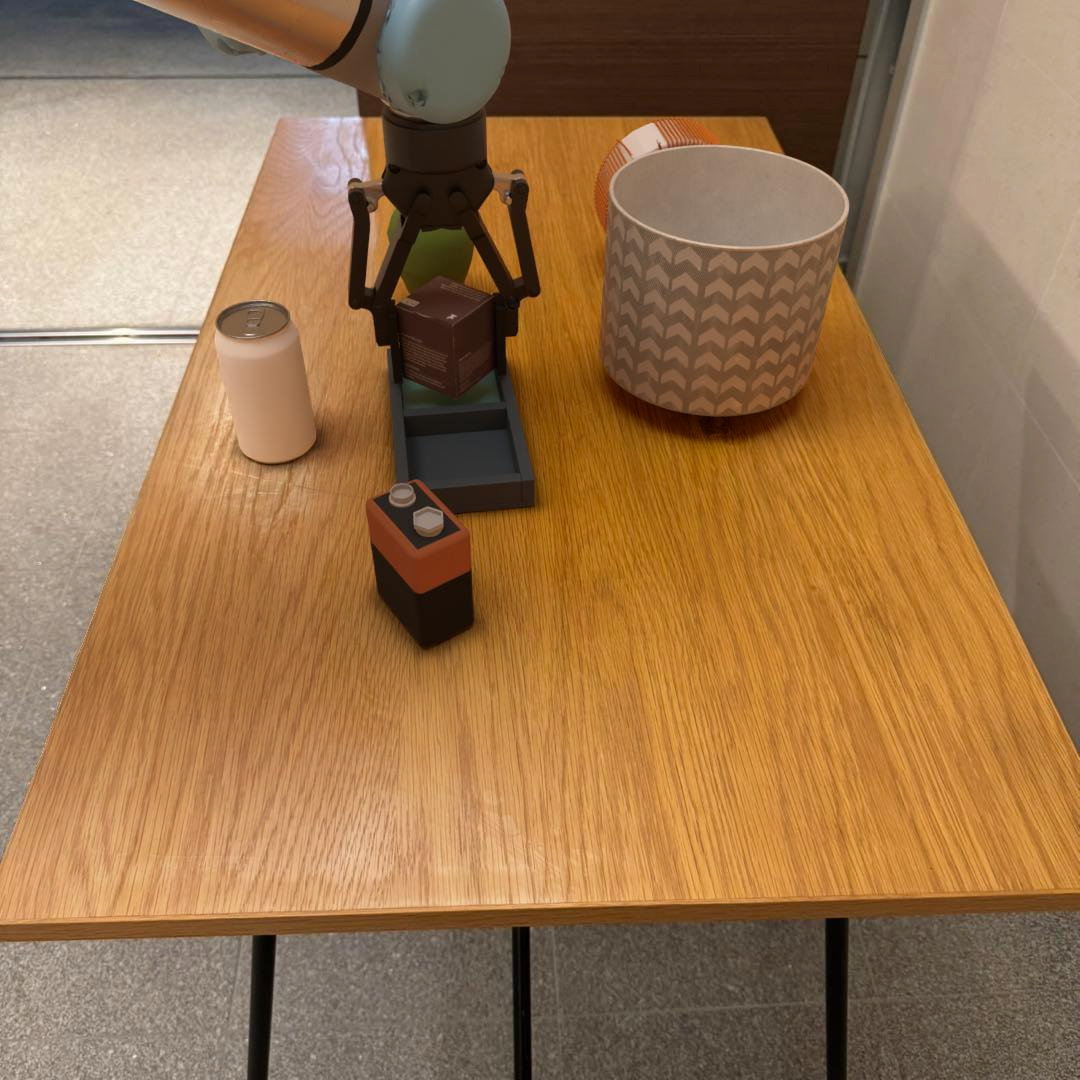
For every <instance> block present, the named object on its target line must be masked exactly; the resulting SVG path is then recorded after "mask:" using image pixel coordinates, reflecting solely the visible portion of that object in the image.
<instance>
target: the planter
mask: <svg viewBox="0 0 1080 1080" xmlns="http://www.w3.org/2000/svg"><path fill="white" fill-rule="evenodd" d="M849 212H850V200H849V197H848V194H847V193H846V191H845V189H844V188H843V187H842V186H841V184H840V183H839V182H838V181H836V179H835V178H833V177H832V176H831V175H829V174H828V173H826V172H825V171H824V170H821V169H820V168H818V167H816V166H814V165H812V164H811V163H810V164H809V163H808V162H805V161H804V160H803V161H802V160H800V159H798V158H794V157H792V156H788V155H786V154H783V153H782V154H781V153H778V152H774V151H770V150H765V149H760V148H754V147H748V146H739V145H729V144H722V145H691V146H681V147H673V148H667V149H663V150H658V151H654V152H651V153H648V154H645V155H642V156H640V157H637V158H635V159H633V160H631V161H630V162H628V163H626V164H625V165H623V166H622V167H621V168H620V169H619V170H618V171H617V172H616V173H615V174H614V175H613V177H612V179H611V182H610V185H609V197H608V213H607V230H606V233H605V247H604V248H605V249H604V263H603V277H602V278H603V280H602V295H601V310H600V311H601V313H600V327H599V342H598V352H599V358H600V361H601V365H602V366H603V368H604V370H605V371H606V373H607V374H608V376H609V377H610V378H611V379H612V380H613V381H614V382H615V383H616V385H618V386H619V387H621V388H622V389H623V390H625V391H626V392H628V393H629V394H631V395H632V396H634V397H636V398H638V399H640V400H642V401H645V402H646V403H649V404H651V405H654V406H656V407H659V408H661V409H666V410H669V411H673V412H677V413H681V414H688V415H692V416H693V415H695V416H702V417H703V416H704V417H737V416H745V415H751V414H756V413H760V412H764V411H767V410H770V409H773V408H775V407H778V406H780V405H783V404H784V403H786V402H787V401H790V400H791V399H792V398H793V397H795V396H797V394H798V393H800V392H801V391H802V389H803V388H804V387H805V386H806V384H807V382H808V380H809V379H810V376H811V373H812V369H813V365H814V360H815V356H816V352H817V349H818V345H819V340H820V335H821V331H822V327H823V322H824V318H825V314H826V311H827V306H828V302H829V297H830V293H831V289H832V284H833V280H834V277H835V272H836V268H837V263H838V259H839V255H840V252H841V248H842V242H843V239H844V234H845V230H846V225H847V222H848V217H849Z"/></svg>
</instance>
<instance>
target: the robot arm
mask: <svg viewBox="0 0 1080 1080" xmlns="http://www.w3.org/2000/svg"><path fill="white" fill-rule="evenodd" d="M133 1H134V2H137V3H139V4H142V5H145V6H147V7H150V8H152V9H155V10H157V11H160V12H162V13H165V14H168V15H170V16H173V17H175V18H178V19H181V20H183V21H186V22H188V23H190V24H192V25H193V24H194V25H196V26H197V28H198V29H199V31H200V33H201V34H202V36H203V37H204V39H205V40H206V41H207V42H208V44H209V45H210V46H211V47H212V48H213V49H214V50H216V51H217V52H218V53H220V54H222V55H224V56H227V57H238V56H239V57H241V56H247V55H255V54H257V55H259V56H260V57H262V56H264V55H265V56H266V55H267V54H270V55H273V56H275V57H278V58H281V59H283V60H285V61H288V62H290V63H294V64H295V65H298V66H300V67H303V68H305V69H307V70H309V71H311V72H313V73H316V74H317V75H321V76H323V77H326V78H328V79H331V80H333V81H336V82H338V83H342V84H344V85H346V86H348V87H352V88H354V89H356V90H359V91H362V92H364V93H366V94H369V95H371V96H373V97H375V98H378V99H380V100H381V102H382V103H383V104H384V106H383V107H382V109H381V112H380V114H381V124H382V125H381V126H382V136H383V137H382V138H383V146H384V157H385V166H384V169H383V172H382V173H381V176H380V178H376V179H371V180H367V181H363V180H361V179H360V178H358V177H352V178H350V179H349V180H348V181H347V200H348V201H347V202H348V205H349V208H350V211H351V215H352V230H351V242H350V243H351V244H350V256H349V269H348V281H347V282H348V283H347V301H348V302H347V303H348V307H349V308H350V309H352V310H355V311H359V310H361V309H363V310H366V311H367V312H368V311H369V312H370V314H371V315H372V319H373V320H372V321H373V330H374V338H375V343H376V344H377V346H378V347H389V348H390V349H391V358H392V368H393V377H394V384H396V383H403V378H402V367H401V357H400V345H399V336H398V326H397V316H396V309H395V305H396V299H393V295H394V293H395V291H396V288H397V286H398V283H399V281H400V279H401V273H402V271H403V268H404V266H405V263H406V260H407V258H408V255H409V253H410V250H411V248H412V245H413V244H415V242H416V239H417V237H418V234H419V231H420V229H421V231H422V232H430V231H434V230H438V229H441V228H443V229H448V230H462V227H464V229H465V230H466V232H467V234H468V236H469V238H470V240H471V241H472V242H473V244H474V248H475V250H476V251H477V253H478V255H479V257H480V258H481V261H482V262H483V264H484V266H485V268H486V270H487V272H488V274H489V276H490V277H491V279H492V281H493V283H494V285H495V287H496V288H497V290H498V291H495V292H492V295H494V308H495V341H496V344H495V345H496V370H497V374H498V376H501V375H506V358H507V338H513V337H517V335H518V333H519V309H520V307H521V301H522V300H524V299H527V298H531V299H534V298H537V297H539V296H540V294H541V291H542V290H541V285H540V279H539V274H538V273H539V272H538V269H537V264H536V257H535V252H534V247H533V242H532V237H531V232H530V228H529V221H528V217H527V205H528V202H529V201H528V200H529V195H530V186H529V183H528V180H527V177H526V174H525V172H524V170H522V169H519V168H515V169H513V170H512V171H511V172H510V173H506V172H505V173H503V172H496V171H493V169H492V168H491V166H490V164H489V163H488V138H487V137H488V135H487V133H488V132H487V108H486V106H485V105H486V104H487V103H488V102H489V101H490V100H491V98H492V97H493V95H494V94H495V93H496V91H497V90H498V88H499V86H500V83H501V80H502V77H503V76H504V74H505V71H506V70H505V69H506V66H507V64H508V62H509V57H510V52H511V46H512V30H511V23H510V22H511V21H510V17H509V12H508V9H507V7H506V4H505V1H504V0H133ZM493 191H496V192H497V194H498V196H499V200H500V202H501V203H502V204H503V205H505V206H507V212H508V216H509V221H510V225H511V230H512V235H513V240H514V245H515V250H516V254H517V259H518V264H519V265H518V266H519V269H520V275H521V276H518V277H516V278H513V276H512V274H511V273H510V270H509V268H508V267H507V265H506V262H505V261H504V259H503V257H502V255H501V253H500V251H499V249H498V248H497V245H496V243H495V241H494V240H493V238H492V236H491V234H490V232H489V230H488V228H487V226H486V224H485V222H484V221H483V218H482V216H481V213H480V211H479V210H480V209H481V208H482V206H483V205H484V203H485V202H486V200H487V199H488V197H489V196H490V194H491V193H492V192H493ZM384 196H385V198H386V199H387V200H388V201H389V202H390V203H391V204H392V206H393V207H394V208H395V209H397V210H398V211H399V212H400V214H399V216H398V220H397V225H396V228H395V231H394V233H393V236H392V238H391V241H390V244H389V243H388V247H387V250H386V252H385V254H384V257H383V259H382V262H381V265H380V268H379V270H378V273H377V275H376V279H375V281H374V283H373V287H372V286H371V287H368V286H366V281H367V280H366V279H367V271H368V270H367V269H368V259H369V258H368V257H369V246H370V237H371V236H370V234H371V215H370V214H372V213H375V212H376V211H377V210H378V209H379V208H378V207H379V200H380V199H381V198H383V197H384Z"/></svg>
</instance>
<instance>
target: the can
mask: <svg viewBox="0 0 1080 1080" xmlns="http://www.w3.org/2000/svg"><path fill="white" fill-rule="evenodd" d="M214 324H215V328H216V330H215V334H214V340H213V343H214V347H215V353H216V357H217V362H218V366H219V371H220V374H221V378H222V383H223V386H224V390H225V395H226V399H227V402H228V406H229V411H230V415H231V419H232V423H233V427H234V432H235V435H236V438H237V442H238V446H239V449H240V451H241V452H242V453H243V454H244V455H245V456H246V457H247V458H250V459H251V460H253V461H255V462H257V463H261V464H265V465H276V464H277V465H279V464H285V463H289V462H292V461H296V460H297V459H299V458H302V457H303V456H304V455H305V454H307V453H308V452H309V451H310V449H311V448H312V447H313V446H314V445H315V442H316V440H317V428H316V423H315V417H314V416H315V415H314V410H313V405H312V399H311V393H310V387H309V382H308V376H307V370H306V365H305V359H304V354H303V348H302V343H301V337H300V332H299V329H298V326H297V325H296V323H295V322H294V321H293V320H292V318H291V313H290V311H289V309H288V308H287V307H286V306H285V305H284V304H281V303H279V302H276V301H273V300H268V299H250V300H244V301H240V302H237V303H234V304H231V305H230V306H228V307H226V308H224V309H222V310H221V312H219V313H218V314H217V316H216V318H215V323H214Z"/></svg>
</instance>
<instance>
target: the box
mask: <svg viewBox="0 0 1080 1080" xmlns="http://www.w3.org/2000/svg"><path fill="white" fill-rule="evenodd" d="M395 309H396V316H397V326H398V336H399V346H400V354H401V364H402V371H403V378H405V379H408V380H410V381H413V382H415V383H418V384H420V385H423V386H425V387H428V388H430V389H432V390H435V391H437V392H440V393H442V394H445V395H447V396H450V397H452V398H454V399H458V398H459V397H460V396H462V395H463V394H464V393H466V392H467V391H468V390H469V389H470V388H472V387H473V386H474V385H475V384H477V383H478V382H479V381H480V380H481V379H483V378H484V377H485V376H487V375H488V374H489V373H490V372H492V371H493V370H494V369H495V368H496V345H495V344H496V341H495V308H494V295H493V293H490V292H486V291H484V290H480V289H478V288H475V287H472V286H469V285H467V284H465V283H464V284H461V283H458V282H455V281H453V280H450V279H447V278H444V277H442V276H438V277H436V278H435V279H433V280H432V281H430V282H429V283H427V284H426V285H424V286H423V287H421V288H420V289H418V290H417V291H415V292H414V293H412V294H409V295H407V296H406V297H404V298H402V299H401V300H400V301H399V302H398V303H395Z"/></svg>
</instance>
